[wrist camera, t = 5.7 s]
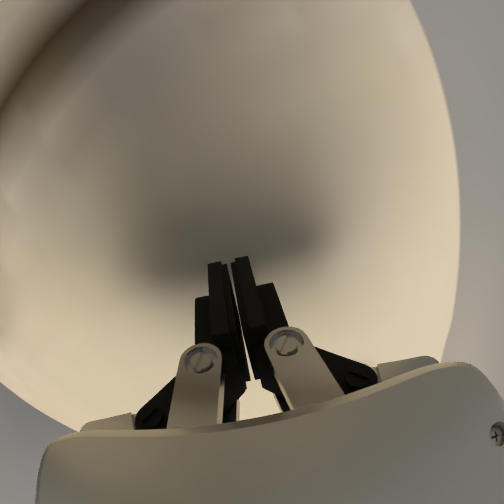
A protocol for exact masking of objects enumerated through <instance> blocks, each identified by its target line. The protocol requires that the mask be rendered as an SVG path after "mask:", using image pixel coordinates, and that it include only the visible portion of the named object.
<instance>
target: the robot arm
mask: <svg viewBox="0 0 504 504" xmlns="http://www.w3.org/2000/svg"><path fill="white" fill-rule="evenodd" d="M235 261H236V262H232V263H231V269H232V275H233V281H234V287H235V293H236V298H237V304H238V309H237V305H236V301H235V297H234V293H233V289H232V284H231V280H230V276H229V272H228V267H227V264H222V263H221V261H220V262H215V263H210V264H208V284H209V296H204V297H198V298H196V299H195V345H193V346H191V347H189V348H188V349H187V350H185V351H184V353H183V354H182V355H181V358H180V361H179V366H178V370H177V375H176V376H175V377H174V378H173V379H172V380H171V381H170V382H169V383H168V384H167V385H166V386H165V387H164V388H163V389H162V390H160V391H159V392H158V393H157V394H156V395H155V396H154V397H153V398H152V399H151V400H150V401H148V402H147V403H146V404H145V405H144V406H143V407H142V408H141V409H140V410H139V411H138V413H137V414H132V413H127V414H123V415H118V416H114V417H110V418H105V419H100V420H95V421H91V422H88V423H86V424H85V425H84V426H83V427H82V428H81V430H80V432H76V433H72V434H68V435H65V436H63V437H60V438H58V439H56V440H54V441H53V442H51V443H50V444H49V446H47V448H46V450H45V452H44V454H43V457H42V459H41V463H40V468H39V472H38V478H37V485H36V495H35V504H504V401H503V399H502V397H501V396H500V395H499V393H498V391H497V390H496V389H495V387H494V386H493V385H492V383H491V382H490V381H489V380H488V379H487V377H486V376H485V375H484V374H483V373H482V372H481V371H480V370H479V369H477V368H476V367H475V366H473V365H471V364H468V363H464V362H444V363H439V362H438V361H437V360H436V359H434V358H433V357H430V356H420V357H415V358H410V359H405V360H400V361H394V362H388V363H382V364H378V365H377V367H372V368H371V367H369V366H367V365H365V364H362V363H359V362H356V361H353V360H350V359H347V358H345V357H342V356H339V355H336V354H333V353H330V352H328V351H325V350H322V349H320V348H317V347H314V346H313V344H312V343H311V341H310V339H309V338H308V336H307V335H306V334H305V333H304V332H303V331H302V330H300V329H298V328H295V327H289V326H288V323H287V320H286V317H285V315H284V312H283V309H282V306H281V303H280V301H279V298H278V295H277V292H276V290H275V287H274V284H273V283H268V284H263V285H258V286H256V284H255V280H254V276H253V273H252V269H251V265H250V262H249V258H248V256H244V257H239V258H235ZM238 310H239V314H238ZM239 316H240V319H239ZM240 321H241V324H240ZM241 327H242V330H241ZM242 331H243V336H244V340H245V343H246V347H247V351H248V355H249V359H250V363H251V367H252V370H253V374H254V378H255V380H257V379H260V380H261V384H262V388H264V389H266V390H268V391H270V392H272V393H273V395H274V398H275V400H276V402H277V405H278V407H279V409H280V411H281V413H277V414H273V415H268V416H263V417H258V418H253V419H247V420H241V421H239V411H240V402H239V398H240V397H241V395H242V394H243V393H244V392H245V389H247V387H246V381H251V379H250V374H249V369H248V363H247V358H246V352H245V347H244V341H243V336H242Z"/></svg>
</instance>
